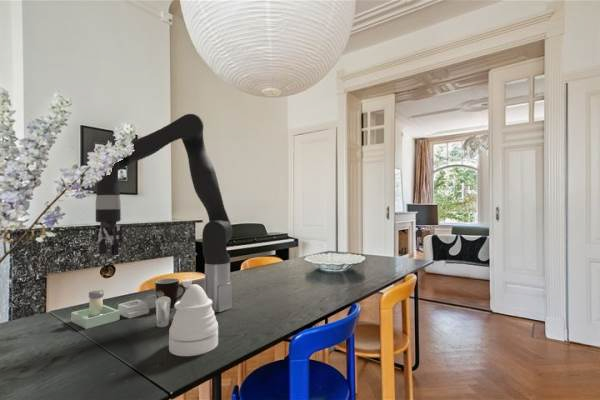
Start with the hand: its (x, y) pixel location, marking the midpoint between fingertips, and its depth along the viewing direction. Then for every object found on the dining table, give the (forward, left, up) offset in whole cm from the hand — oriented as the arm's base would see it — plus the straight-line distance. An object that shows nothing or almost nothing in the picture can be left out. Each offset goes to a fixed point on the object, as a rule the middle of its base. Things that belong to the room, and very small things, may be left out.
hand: (108, 254), depth 110 cm
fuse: (0, +4, -21) cm, 21 cm away
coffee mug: (-8, -18, -22) cm, 30 cm away
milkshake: (-23, -6, -22) cm, 32 cm away
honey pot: (-44, -3, -22) cm, 49 cm away
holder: (-3, -7, -22) cm, 23 cm away
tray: (0, +4, -22) cm, 22 cm away
